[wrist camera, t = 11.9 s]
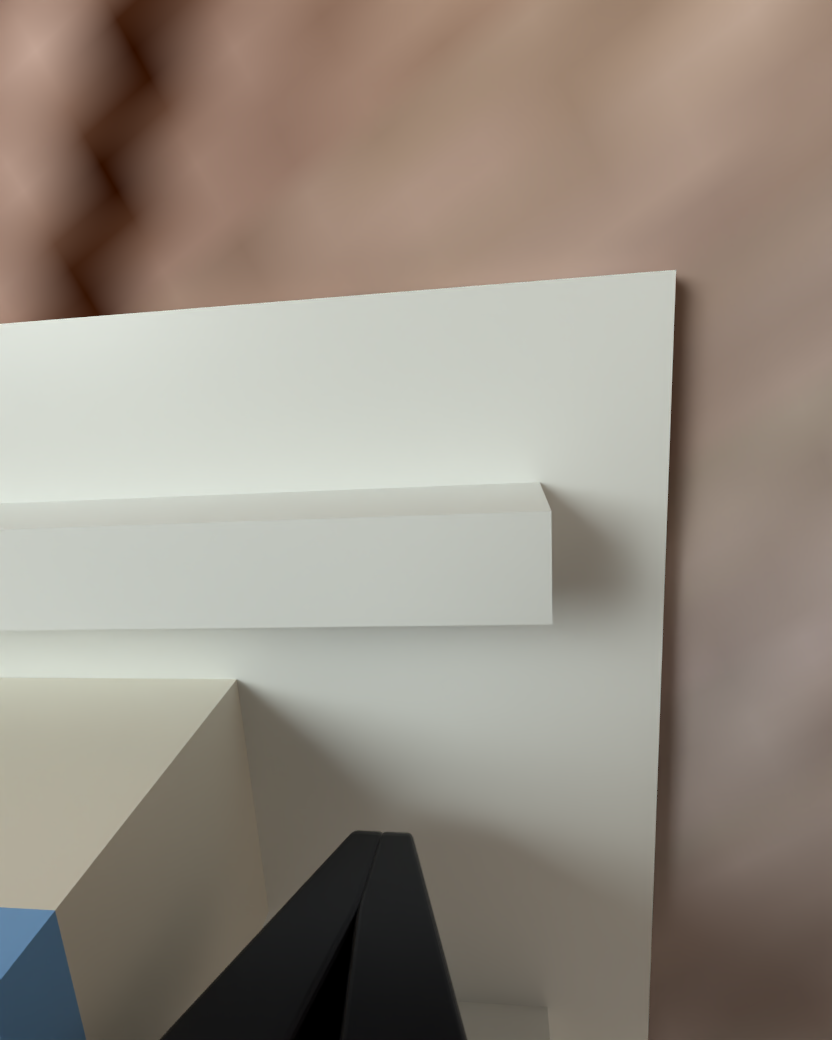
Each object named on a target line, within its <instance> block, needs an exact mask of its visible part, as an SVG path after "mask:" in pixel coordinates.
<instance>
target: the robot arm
mask: <svg viewBox="0 0 832 1040" xmlns="http://www.w3.org/2000/svg"><path fill="white" fill-rule="evenodd" d="M159 1040H467V1036H466V1032H465V1029H464V1025H463V1021H462V1018H461V1014H460V1010H459V1006H458V1003H457V999H456V995H455V991H454V988H453V984H452V980H451V976H450V973H449V969H448V965H447V961H446V958H445V954H444V950H443V946H442V943H441V939H440V935H439V932H438V928H437V924H436V920H435V917H434V913H433V909H432V905H431V902H430V898H429V894H428V890H427V887H426V883H425V879H424V875H423V872H422V868H421V864H420V860H419V857H418V853H417V849H416V846H415V842H414V838H413V836H412V834H410V833H408V832H384V833H382V832H380V831H362V830H357V831H354V832H352V833H351V834H350V835H349V836H348V837H347V838H346V839H345V840H344V841H343V842H342V843H341V844H340V845H339V846H338V847H337V849H336V850H335V851H334V852H333V853H332V854H331V855H330V856H329V857H328V858H327V859H326V860H325V861H324V863H323V864H322V865H321V866H320V867H319V868H318V869H317V870H316V871H315V872H314V873H313V874H312V875H311V877H310V878H309V879H308V880H307V881H306V882H305V883H304V884H303V885H302V886H301V887H300V888H299V889H298V891H297V892H296V893H295V894H294V895H293V896H292V897H291V898H290V899H289V900H288V901H287V902H286V903H285V905H284V906H283V907H282V908H281V909H280V910H279V911H278V912H277V913H276V914H275V915H274V916H273V917H272V919H271V920H270V921H269V922H268V923H267V924H266V925H265V926H264V927H263V928H262V929H261V930H260V931H259V933H258V934H257V935H256V936H255V937H254V938H253V939H252V940H251V941H250V942H249V943H248V944H247V945H246V947H245V948H244V949H243V950H242V951H241V952H240V953H239V954H238V955H237V956H236V957H235V958H234V959H233V961H232V962H231V963H230V964H229V965H228V966H227V967H226V968H225V969H224V970H223V971H222V972H221V973H220V975H219V976H218V977H217V978H216V979H215V980H214V981H213V982H212V983H211V984H210V985H209V986H208V987H207V989H206V990H205V991H204V992H203V993H202V994H201V995H200V996H199V997H198V998H197V999H196V1000H195V1001H194V1003H193V1004H192V1005H191V1006H190V1007H189V1008H188V1009H187V1010H186V1011H185V1012H184V1013H183V1014H182V1015H181V1017H180V1018H179V1019H178V1020H177V1021H176V1022H175V1023H174V1024H173V1025H172V1026H171V1027H170V1028H169V1029H168V1031H167V1032H166V1033H165V1034H164V1035H163V1036H162V1037H161V1038H160V1039H159Z"/></svg>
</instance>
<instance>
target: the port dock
mask: <svg viewBox="0 0 832 1040" xmlns="http://www.w3.org/2000/svg"><path fill="white" fill-rule="evenodd" d="M675 286H676V270H668V271H655V272H643V273H630V274H618V275H605V276H593V277H580V278H568V279H556V280H543V281H531V282H518V283H506V284H493V285H481V286H468V287H456V288H443V289H431V290H418V291H406V292H393V293H381V294H368V295H356V296H343V297H331V298H318V299H306V300H294V301H281V302H269V303H256V304H244V305H231V306H219V307H206V308H194V309H181V310H169V311H156V312H144V313H131V314H119V315H106V316H94V317H81V318H69V319H56V320H44V321H32V322H19V323H7V324H0V678H136V679H237V684H238V691H239V699H240V706H241V713H242V720H243V728H244V735H245V742H246V749H247V757H248V764H249V771H250V779H251V786H252V793H253V800H254V808H255V815H256V822H257V829H258V837H259V844H260V851H261V858H262V866H263V873H264V880H265V887H266V895H267V902H268V909H269V912H268V915H267V917H266V920H265V922H264V925H263V927H264V926H265V925H266V924H267V923H268V922H269V921H270V920H271V919H272V917H273V916H274V915H275V914H276V913H277V912H278V911H279V910H280V909H281V908H282V907H283V906H284V905H285V903H286V902H287V901H288V900H289V899H290V898H291V897H292V896H293V895H294V894H295V893H296V892H297V891H298V889H299V888H300V887H301V886H302V885H303V884H304V883H305V882H306V881H307V880H308V879H309V878H310V877H311V875H312V874H313V873H314V872H315V871H316V870H317V869H318V868H319V867H320V866H321V865H322V864H323V863H324V861H325V860H326V859H327V858H328V857H329V856H330V855H331V854H332V853H333V852H334V851H335V850H336V849H337V847H338V846H339V845H340V844H341V843H342V842H343V841H344V840H345V839H346V838H347V837H348V836H349V835H350V834H351V833H352V832H354V831H357V830H362V831H380V832H382V833H384V832H408V833H410V834H412V836H413V838H414V842H415V846H416V849H417V853H418V857H419V860H420V864H421V868H422V872H423V875H424V879H425V883H426V887H427V890H428V894H429V898H430V902H431V905H432V909H433V913H434V917H435V920H436V924H437V928H438V932H439V935H440V939H441V943H442V946H443V950H444V954H445V958H446V961H447V965H448V969H449V973H450V976H451V980H452V984H453V988H454V991H455V995H456V999H457V1003H458V1006H459V1010H460V1014H461V1018H462V1021H463V1025H464V1029H465V1032H466V1036H467V1040H648V1026H649V998H650V971H651V944H652V916H653V889H654V861H655V834H656V807H657V779H658V752H659V724H660V697H661V670H662V642H663V615H664V587H665V560H666V533H667V505H668V478H669V450H670V423H671V396H672V368H673V341H674V313H675ZM263 927H262V928H263Z"/></svg>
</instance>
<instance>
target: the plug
mask: <svg viewBox="0 0 832 1040" xmlns="http://www.w3.org/2000/svg"><path fill="white" fill-rule="evenodd" d="M268 912H269V909H268V902H267V895H266V887H265V880H264V873H263V866H262V858H261V851H260V844H259V837H258V829H257V822H256V815H255V808H254V800H253V793H252V786H251V779H250V771H249V764H248V757H247V749H246V742H245V735H244V728H243V720H242V713H241V706H240V699H239V691H238V684H237V679H136V678H0V1040H159V1039H160V1038H161V1037H162V1036H163V1035H164V1034H165V1033H166V1032H167V1031H168V1029H169V1028H170V1027H171V1026H172V1025H173V1024H174V1023H175V1022H176V1021H177V1020H178V1019H179V1018H180V1017H181V1015H182V1014H183V1013H184V1012H185V1011H186V1010H187V1009H188V1008H189V1007H190V1006H191V1005H192V1004H193V1003H194V1001H195V1000H196V999H197V998H198V997H199V996H200V995H201V994H202V993H203V992H204V991H205V990H206V989H207V987H208V986H209V985H210V984H211V983H212V982H213V981H214V980H215V979H216V978H217V977H218V976H219V975H220V973H221V972H222V971H223V970H224V969H225V968H226V967H227V966H228V965H229V964H230V963H231V962H232V961H233V959H234V958H235V957H236V956H237V955H238V954H239V953H240V952H241V951H242V950H243V949H244V948H245V947H246V945H247V944H248V943H249V942H250V941H251V940H252V939H253V938H254V937H255V936H256V935H257V934H258V933H259V931H260V930H261V929H262V927H263V925H264V922H265V920H266V917H267V915H268Z"/></svg>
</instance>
